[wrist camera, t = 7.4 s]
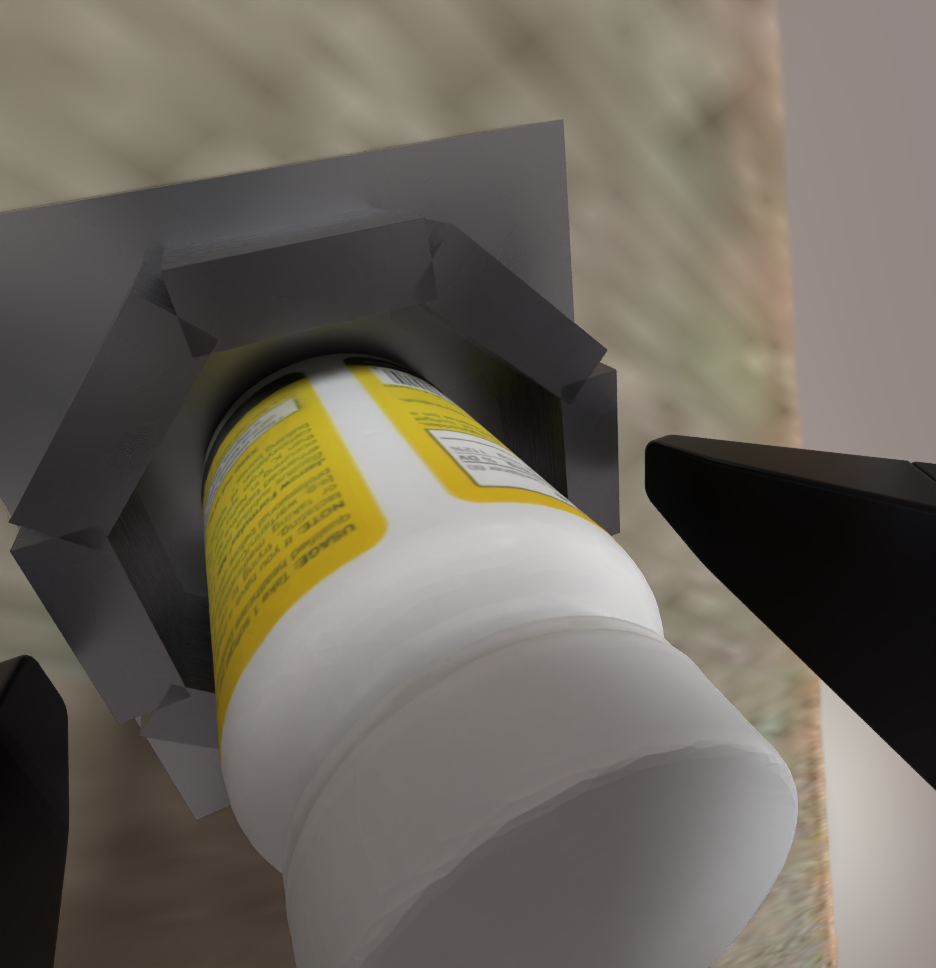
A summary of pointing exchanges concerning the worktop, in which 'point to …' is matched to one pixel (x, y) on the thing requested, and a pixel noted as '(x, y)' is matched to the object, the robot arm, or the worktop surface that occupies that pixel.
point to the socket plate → (267, 373)
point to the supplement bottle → (462, 699)
